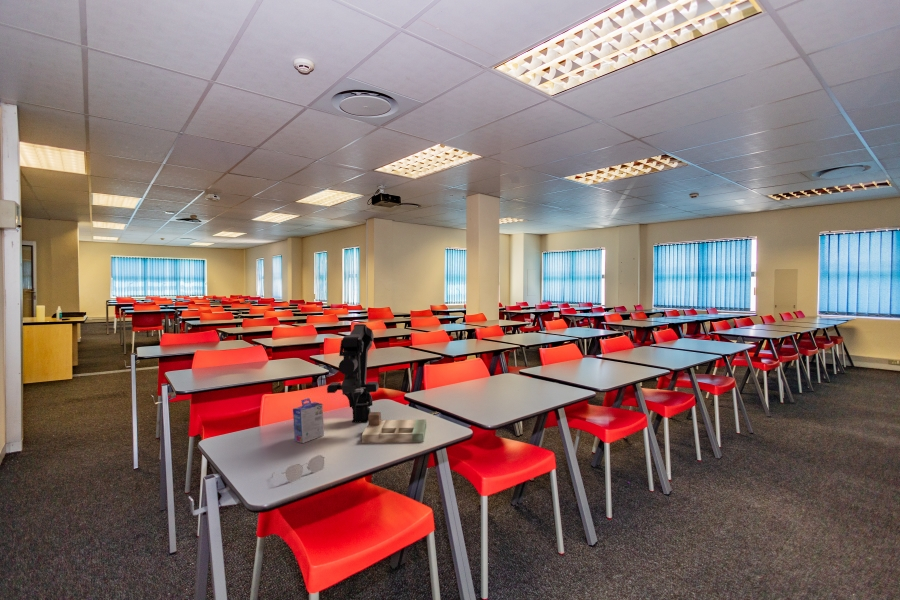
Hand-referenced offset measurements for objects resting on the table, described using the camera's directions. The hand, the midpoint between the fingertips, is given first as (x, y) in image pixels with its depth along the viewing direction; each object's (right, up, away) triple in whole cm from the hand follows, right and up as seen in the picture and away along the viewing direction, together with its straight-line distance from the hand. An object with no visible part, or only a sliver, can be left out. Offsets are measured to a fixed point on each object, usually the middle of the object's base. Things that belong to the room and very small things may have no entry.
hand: (353, 409), depth 163 cm
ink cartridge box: (-15, -10, -5) cm, 19 cm away
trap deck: (+17, -9, -4) cm, 19 cm away
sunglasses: (-9, -11, -35) cm, 37 cm away
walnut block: (+8, -6, 0) cm, 10 cm away
